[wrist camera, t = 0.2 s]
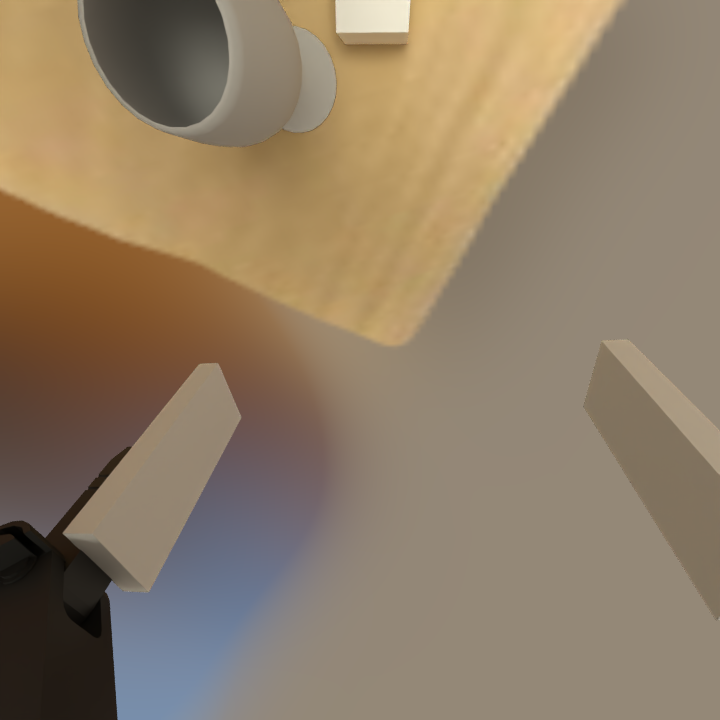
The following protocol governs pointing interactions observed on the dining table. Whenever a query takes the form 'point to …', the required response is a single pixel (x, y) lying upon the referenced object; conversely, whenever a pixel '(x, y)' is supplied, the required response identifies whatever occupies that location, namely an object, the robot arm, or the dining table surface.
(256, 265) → the dining table surface
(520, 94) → the dining table surface
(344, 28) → the white cube
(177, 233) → the dining table surface
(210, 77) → the wineglass
